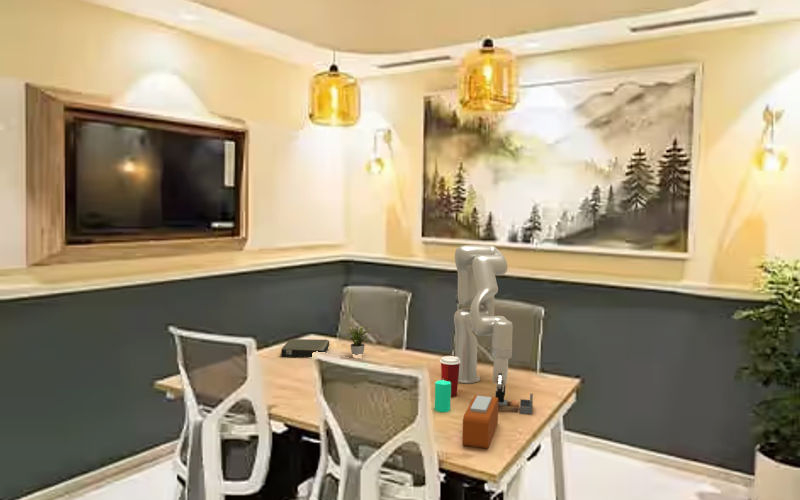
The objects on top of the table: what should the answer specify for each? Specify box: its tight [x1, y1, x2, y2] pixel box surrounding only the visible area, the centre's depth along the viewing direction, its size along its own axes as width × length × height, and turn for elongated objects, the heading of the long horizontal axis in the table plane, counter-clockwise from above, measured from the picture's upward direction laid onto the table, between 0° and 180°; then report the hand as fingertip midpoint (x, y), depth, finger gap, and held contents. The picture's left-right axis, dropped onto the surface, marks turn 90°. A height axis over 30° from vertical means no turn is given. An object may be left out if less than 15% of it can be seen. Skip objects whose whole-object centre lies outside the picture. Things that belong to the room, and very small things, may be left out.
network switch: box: [280, 338, 330, 358], centre depth 307 cm, size 23×23×5 cm
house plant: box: [345, 325, 373, 355], centre depth 298 cm, size 14×14×16 cm
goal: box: [519, 393, 534, 415], centre depth 229 cm, size 5×9×5 cm, turn 167°
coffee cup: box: [439, 355, 460, 398], centre depth 245 cm, size 8×8×15 cm
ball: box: [509, 399, 520, 408], centre depth 230 cm, size 3×3×3 cm
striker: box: [498, 382, 508, 406], centre depth 231 cm, size 5×4×9 cm
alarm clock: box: [461, 394, 499, 449], centre depth 204 cm, size 24×8×11 cm, turn 163°
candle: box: [434, 379, 452, 413], centre depth 227 cm, size 6×6×12 cm
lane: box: [498, 400, 519, 413], centre depth 231 cm, size 17×7×2 cm, turn 77°
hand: (500, 398), depth 231 cm, fingers open, 6 cm apart
